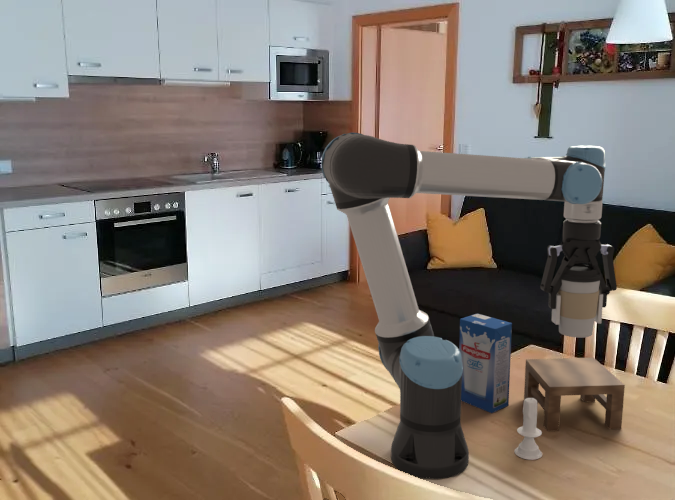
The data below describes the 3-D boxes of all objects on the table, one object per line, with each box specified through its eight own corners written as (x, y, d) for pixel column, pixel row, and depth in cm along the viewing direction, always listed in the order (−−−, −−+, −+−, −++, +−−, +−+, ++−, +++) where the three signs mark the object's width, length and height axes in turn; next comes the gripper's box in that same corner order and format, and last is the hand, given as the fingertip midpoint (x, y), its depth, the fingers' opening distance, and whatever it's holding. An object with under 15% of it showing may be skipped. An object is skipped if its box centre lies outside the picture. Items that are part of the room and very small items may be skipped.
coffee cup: (600, 340, 142) (605, 271, 139) (556, 338, 143) (559, 270, 140) (593, 327, 150) (598, 261, 147) (551, 325, 152) (555, 260, 149)
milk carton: (457, 399, 159) (459, 318, 155) (474, 392, 163) (477, 313, 159) (492, 413, 151) (495, 328, 147) (508, 405, 155) (512, 323, 151)
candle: (547, 453, 133) (550, 397, 131) (532, 463, 130) (535, 405, 127) (524, 444, 137) (526, 389, 135) (509, 453, 134) (511, 397, 131)
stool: (547, 431, 143) (549, 387, 141) (523, 399, 158) (525, 359, 156) (621, 428, 143) (624, 384, 141) (590, 397, 159) (593, 357, 157)
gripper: (538, 223, 138) (533, 328, 142) (640, 221, 138) (632, 326, 143) (526, 218, 145) (522, 318, 150) (623, 215, 146) (616, 315, 150)
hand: (576, 322), depth 146 cm, fingers closed on coffee cup, 9 cm apart
